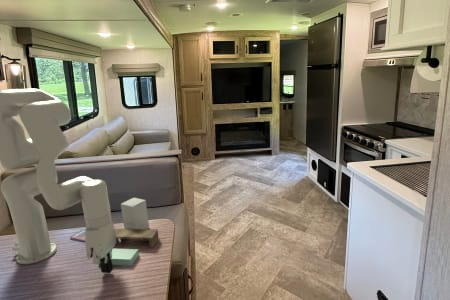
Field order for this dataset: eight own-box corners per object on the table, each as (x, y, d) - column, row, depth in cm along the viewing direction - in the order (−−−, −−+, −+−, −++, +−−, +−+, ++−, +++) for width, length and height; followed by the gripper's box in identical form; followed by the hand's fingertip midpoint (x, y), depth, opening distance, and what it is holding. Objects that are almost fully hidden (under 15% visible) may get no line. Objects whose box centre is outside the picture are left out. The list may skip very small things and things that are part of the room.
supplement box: (149, 227, 125) (146, 199, 122) (136, 235, 119) (132, 206, 116) (137, 223, 129) (134, 196, 126) (124, 231, 122) (119, 203, 120)
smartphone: (83, 231, 126) (111, 236, 120) (69, 239, 119) (97, 245, 113) (83, 229, 125) (110, 234, 120) (68, 237, 119) (96, 243, 113)
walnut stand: (107, 246, 112) (105, 236, 111) (114, 237, 118) (113, 228, 117) (152, 247, 109) (151, 237, 108) (158, 239, 115) (157, 229, 114)
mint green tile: (98, 264, 101) (97, 258, 100) (107, 254, 107) (106, 248, 106) (131, 265, 99) (130, 259, 99) (139, 255, 105) (138, 249, 104)
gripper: (100, 208, 99) (108, 257, 103) (71, 231, 85) (82, 286, 89) (121, 209, 98) (128, 258, 102) (95, 232, 83) (105, 287, 88)
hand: (107, 271), depth 95 cm, fingers closed
